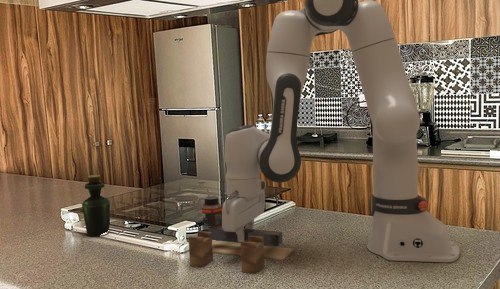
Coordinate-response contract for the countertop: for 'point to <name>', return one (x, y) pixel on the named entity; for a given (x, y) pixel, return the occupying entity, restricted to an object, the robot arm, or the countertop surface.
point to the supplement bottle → (211, 213)
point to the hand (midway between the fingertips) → (245, 238)
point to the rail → (268, 236)
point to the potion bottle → (96, 208)
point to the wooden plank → (235, 249)
